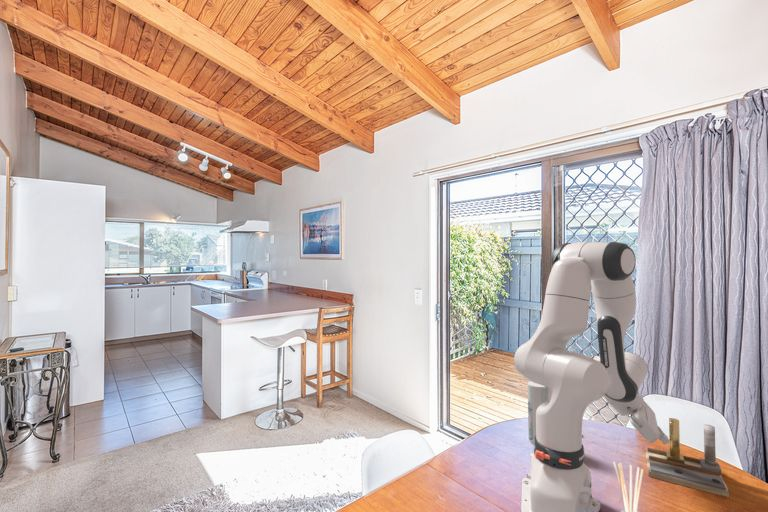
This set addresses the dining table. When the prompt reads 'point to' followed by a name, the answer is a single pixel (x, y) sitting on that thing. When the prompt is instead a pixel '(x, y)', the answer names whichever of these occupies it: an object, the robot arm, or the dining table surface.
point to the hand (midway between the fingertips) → (666, 441)
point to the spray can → (535, 405)
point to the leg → (674, 442)
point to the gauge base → (690, 467)
